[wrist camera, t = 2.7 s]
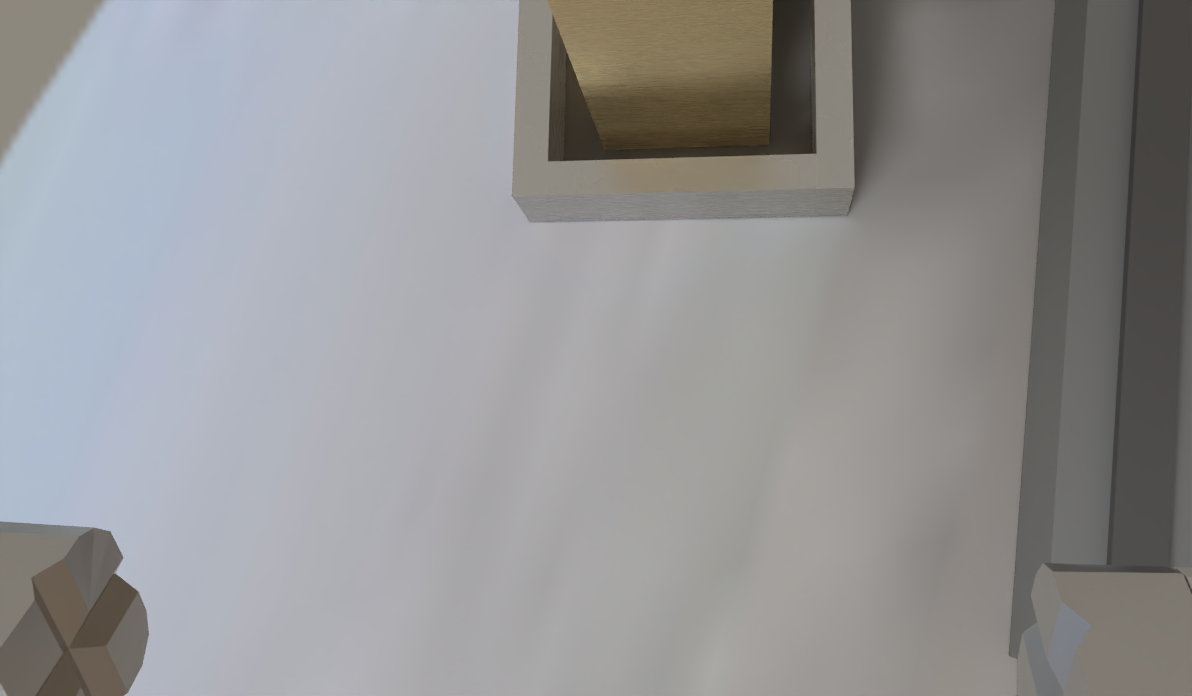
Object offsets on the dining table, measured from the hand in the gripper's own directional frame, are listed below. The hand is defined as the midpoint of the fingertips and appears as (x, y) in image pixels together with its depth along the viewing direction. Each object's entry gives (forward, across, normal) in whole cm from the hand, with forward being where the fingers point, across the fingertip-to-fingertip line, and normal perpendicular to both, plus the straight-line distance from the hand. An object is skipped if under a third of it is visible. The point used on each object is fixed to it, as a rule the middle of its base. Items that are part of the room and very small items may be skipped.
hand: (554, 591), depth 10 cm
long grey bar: (+19, -10, +3) cm, 22 cm away
